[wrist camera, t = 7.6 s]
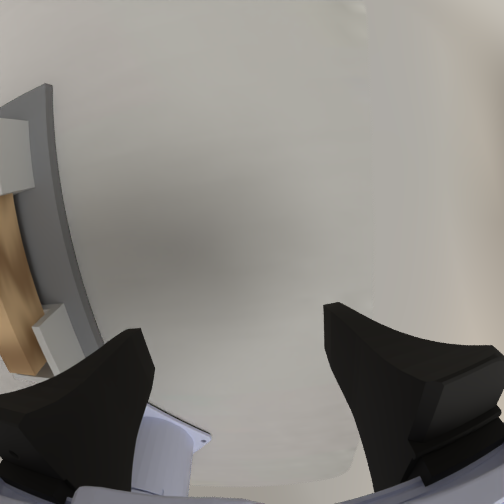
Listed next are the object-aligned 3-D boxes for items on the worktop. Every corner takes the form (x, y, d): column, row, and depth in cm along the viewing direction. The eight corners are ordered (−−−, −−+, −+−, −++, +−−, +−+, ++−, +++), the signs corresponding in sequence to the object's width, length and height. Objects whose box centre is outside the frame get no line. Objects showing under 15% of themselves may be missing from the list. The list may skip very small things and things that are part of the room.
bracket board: (116, 373, 23) (98, 410, 18) (36, 369, 23) (15, 397, 18) (52, 85, 16) (14, 73, 11) (-26, 128, 16) (-61, 129, 11)
